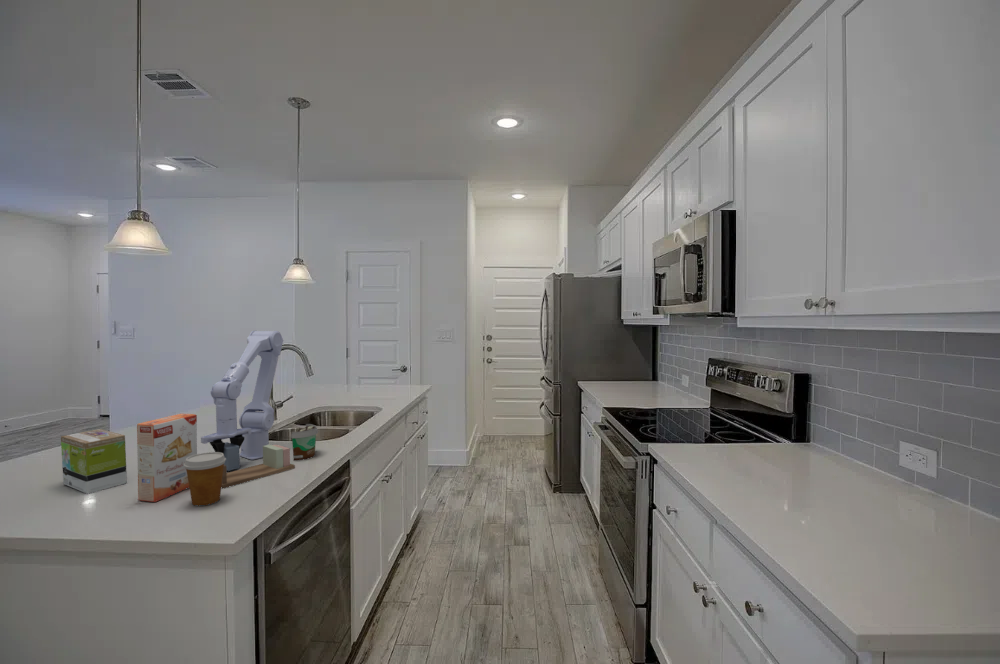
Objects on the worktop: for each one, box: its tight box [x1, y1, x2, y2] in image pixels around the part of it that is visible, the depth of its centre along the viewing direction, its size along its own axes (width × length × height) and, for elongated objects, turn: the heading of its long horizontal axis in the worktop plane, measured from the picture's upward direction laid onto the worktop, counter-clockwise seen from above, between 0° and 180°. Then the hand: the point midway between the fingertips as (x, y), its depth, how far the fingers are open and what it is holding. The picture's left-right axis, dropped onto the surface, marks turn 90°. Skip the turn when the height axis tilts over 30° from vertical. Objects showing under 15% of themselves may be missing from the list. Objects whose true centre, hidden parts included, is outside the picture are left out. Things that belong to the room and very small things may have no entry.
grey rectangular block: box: [224, 441, 241, 472], centre depth 153 cm, size 8×4×7 cm, turn 55°
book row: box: [262, 444, 291, 469], centre depth 155 cm, size 8×4×6 cm, turn 55°
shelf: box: [221, 463, 296, 489], centre depth 148 cm, size 10×22×6 cm, turn 145°
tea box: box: [60, 428, 128, 495], centre depth 140 cm, size 15×10×15 cm, turn 62°
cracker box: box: [136, 413, 198, 503], centre depth 133 cm, size 14×6×21 cm, turn 168°
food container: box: [290, 423, 319, 461], centre depth 167 cm, size 12×6×10 cm, turn 179°
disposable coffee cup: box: [184, 451, 226, 507], centre depth 127 cm, size 10×10×12 cm
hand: (227, 460), depth 153 cm, fingers closed on grey rectangular block, 3 cm apart
